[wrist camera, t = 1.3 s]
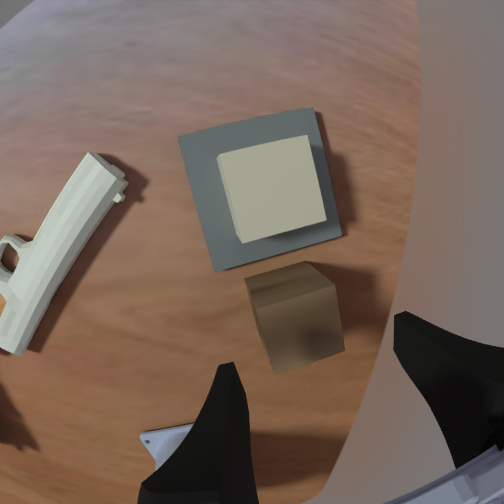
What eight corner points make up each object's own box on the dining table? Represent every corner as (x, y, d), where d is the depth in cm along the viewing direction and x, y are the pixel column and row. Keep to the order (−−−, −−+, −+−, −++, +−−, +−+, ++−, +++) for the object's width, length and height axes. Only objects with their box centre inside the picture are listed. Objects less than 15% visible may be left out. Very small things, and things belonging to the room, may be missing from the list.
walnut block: (316, 316, 24) (344, 350, 18) (259, 333, 23) (274, 374, 18) (305, 260, 22) (335, 284, 17) (243, 278, 22) (256, 308, 17)
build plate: (337, 233, 22) (362, 244, 19) (214, 268, 22) (217, 287, 18) (309, 109, 20) (330, 97, 16) (178, 138, 19) (173, 128, 16)
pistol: (36, 96, 17) (138, 183, 20) (-57, 290, 18) (22, 370, 21) (21, 88, 15) (130, 183, 18) (-71, 298, 16) (11, 384, 19)
